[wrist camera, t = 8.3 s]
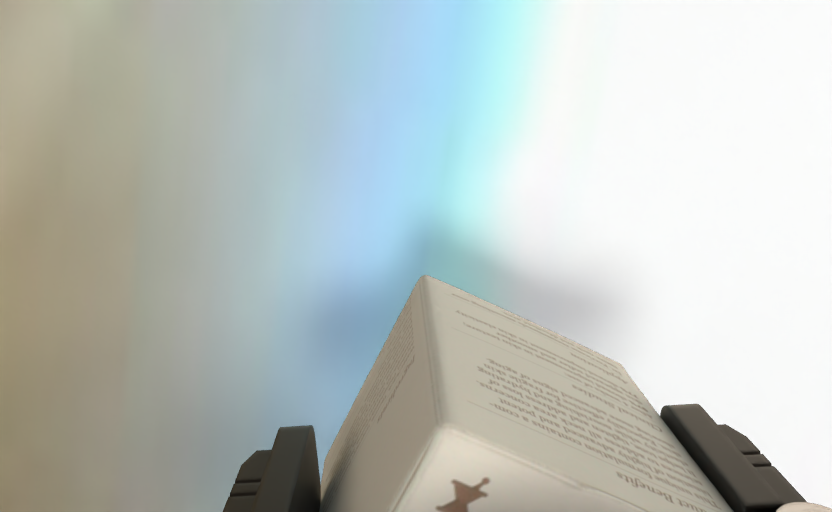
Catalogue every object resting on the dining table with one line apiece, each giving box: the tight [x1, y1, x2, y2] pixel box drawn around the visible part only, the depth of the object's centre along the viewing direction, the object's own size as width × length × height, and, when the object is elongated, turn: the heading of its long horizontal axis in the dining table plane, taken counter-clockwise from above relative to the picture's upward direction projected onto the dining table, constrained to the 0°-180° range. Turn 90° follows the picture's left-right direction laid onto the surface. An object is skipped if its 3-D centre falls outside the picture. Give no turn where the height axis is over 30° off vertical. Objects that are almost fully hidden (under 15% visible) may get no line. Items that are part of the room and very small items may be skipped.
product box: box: [319, 275, 734, 512], centre depth 14 cm, size 6×6×7 cm
